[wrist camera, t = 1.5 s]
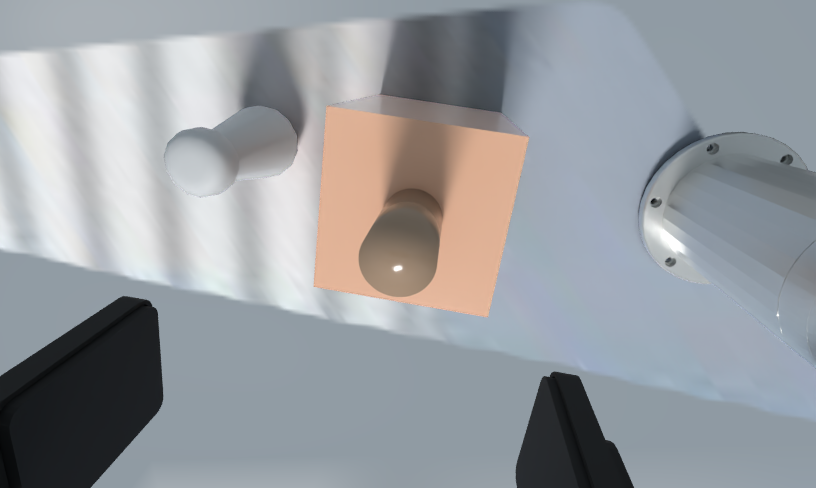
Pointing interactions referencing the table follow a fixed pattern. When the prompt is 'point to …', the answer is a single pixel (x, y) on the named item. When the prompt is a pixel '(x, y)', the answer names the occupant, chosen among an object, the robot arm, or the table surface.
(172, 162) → the salt shaker
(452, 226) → the cover
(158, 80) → the table surface
